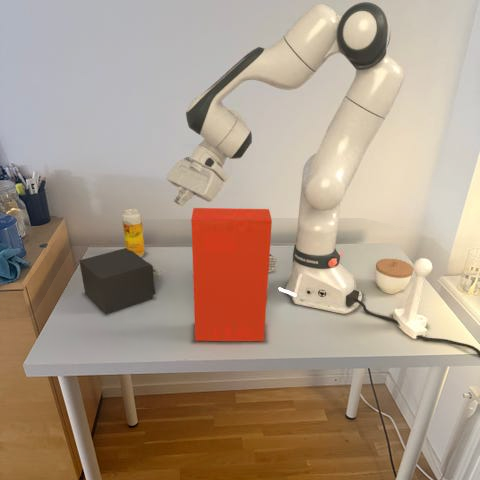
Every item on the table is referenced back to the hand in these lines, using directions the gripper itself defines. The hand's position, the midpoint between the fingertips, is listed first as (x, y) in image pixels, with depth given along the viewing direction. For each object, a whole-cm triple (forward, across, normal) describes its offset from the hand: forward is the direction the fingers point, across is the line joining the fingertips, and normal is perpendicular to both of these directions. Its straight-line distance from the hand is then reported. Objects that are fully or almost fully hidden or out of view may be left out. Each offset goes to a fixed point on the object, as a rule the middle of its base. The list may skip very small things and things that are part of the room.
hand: (177, 203), depth 132 cm
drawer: (+28, 0, +4) cm, 28 cm away
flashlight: (-2, +7, +35) cm, 36 cm away
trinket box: (-17, +44, +50) cm, 69 cm away
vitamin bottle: (+20, -22, +14) cm, 33 cm away
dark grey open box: (+32, 0, +1) cm, 32 cm away
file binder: (+22, +34, +12) cm, 42 cm away
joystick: (-8, +60, +41) cm, 74 cm away
